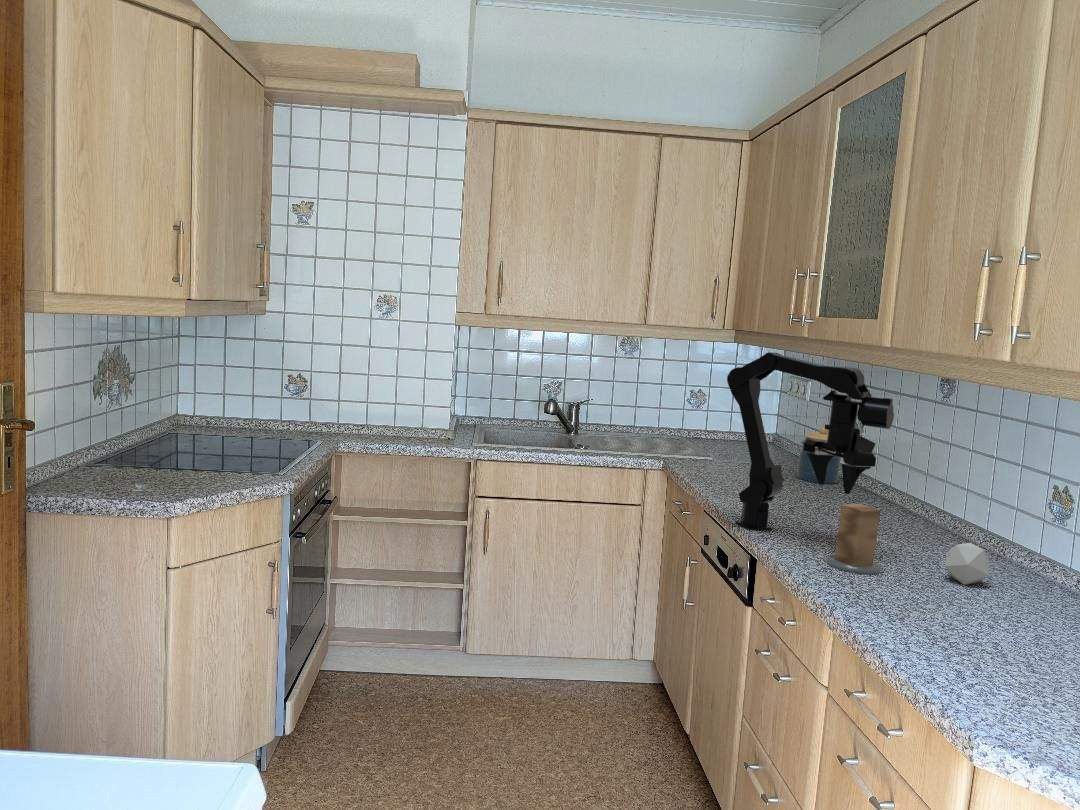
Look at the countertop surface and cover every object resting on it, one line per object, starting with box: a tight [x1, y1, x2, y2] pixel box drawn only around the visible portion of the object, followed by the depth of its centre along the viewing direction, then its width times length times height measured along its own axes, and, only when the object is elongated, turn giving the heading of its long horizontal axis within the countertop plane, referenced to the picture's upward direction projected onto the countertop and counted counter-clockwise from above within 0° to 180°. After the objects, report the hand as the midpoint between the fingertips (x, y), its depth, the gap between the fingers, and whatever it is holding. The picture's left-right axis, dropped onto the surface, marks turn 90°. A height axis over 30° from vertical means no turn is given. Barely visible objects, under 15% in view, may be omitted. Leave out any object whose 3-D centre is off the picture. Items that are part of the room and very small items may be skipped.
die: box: [944, 542, 991, 586], centre depth 181 cm, size 8×9×10 cm
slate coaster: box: [825, 554, 882, 575], centre depth 185 cm, size 11×11×1 cm
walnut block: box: [834, 503, 882, 567], centre depth 185 cm, size 6×6×12 cm
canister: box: [796, 426, 842, 485], centre depth 285 cm, size 13×13×18 cm
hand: (833, 489), depth 201 cm, fingers open, 9 cm apart
